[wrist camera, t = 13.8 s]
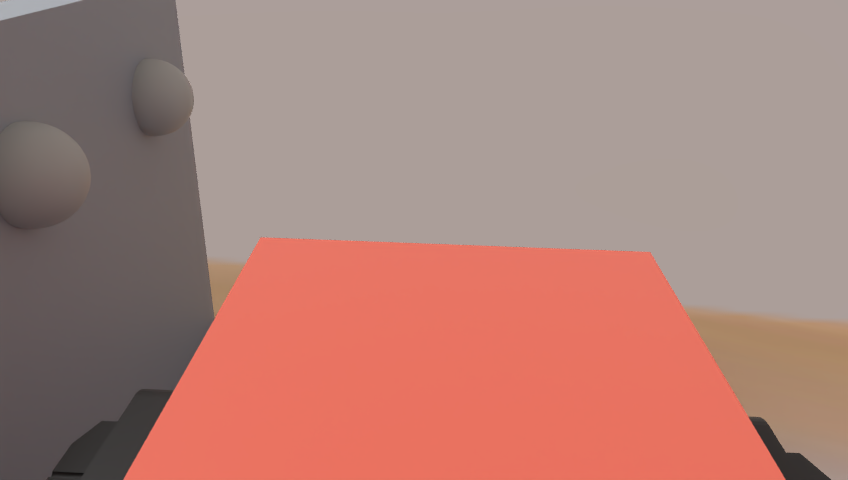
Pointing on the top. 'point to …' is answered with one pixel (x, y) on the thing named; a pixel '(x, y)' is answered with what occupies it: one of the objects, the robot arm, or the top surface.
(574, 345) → the tall coral upright block
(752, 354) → the top surface
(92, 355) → the grey peg stand
